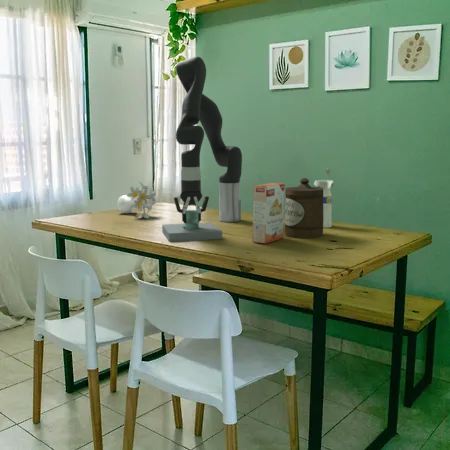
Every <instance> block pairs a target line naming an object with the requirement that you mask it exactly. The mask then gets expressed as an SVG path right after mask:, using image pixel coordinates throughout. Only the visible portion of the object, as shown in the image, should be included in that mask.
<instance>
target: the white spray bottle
mask: <svg viewBox="0 0 450 450" xmlns="http://www.w3.org/2000/svg"><path fill="white" fill-rule="evenodd" d="M324 172H325V176H331V172H332V170H331V169H329V167H327V168H326V170H325V169H324ZM313 185H314V187H320V188H323V229H324V228H325V229H326V228H332V211H333V210H332V208H333V207H332V203H333V197H332V196H333V195H332V192H331V187H334V180H331V179H317V180H316V179H315V180H314V183H313Z"/></svg>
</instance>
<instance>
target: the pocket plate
mask: <svg viewBox="0 0 450 450" xmlns="http://www.w3.org/2000/svg"><path fill="white" fill-rule="evenodd" d="M198 224H199V229H185V223H173V224H172V223H169V224H168V223H167V224H166V223H165V224H162V226H161V229H162V230H161V231H162V233H163V235H164V236H165V238H166V239H167V240H168V242H184V241H185V242H186V241H187V242H189V241H205V240H206V241H207V240H209V239H210V240H222V239H223V231H222V229H221V228H219V227H218V226H216V225H215V224H213V223H212V222H199V223H198Z"/></svg>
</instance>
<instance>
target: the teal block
mask: <svg viewBox="0 0 450 450" xmlns="http://www.w3.org/2000/svg"><path fill="white" fill-rule="evenodd" d="M184 224H185V229H199V224H198V211H197V210H196V209H187V210H186V223H184Z"/></svg>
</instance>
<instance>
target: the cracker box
mask: <svg viewBox="0 0 450 450" xmlns="http://www.w3.org/2000/svg"><path fill="white" fill-rule="evenodd" d="M285 189H286V188H285V183H282V182H270V183H268V182H267V183H264V184H256V185H253V197H252V198H253V202H252V204H253V208H252V243H257V244H264V245H265V244H270V243H272V242H274V241H278V240H281V239H284V222H285Z"/></svg>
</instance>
